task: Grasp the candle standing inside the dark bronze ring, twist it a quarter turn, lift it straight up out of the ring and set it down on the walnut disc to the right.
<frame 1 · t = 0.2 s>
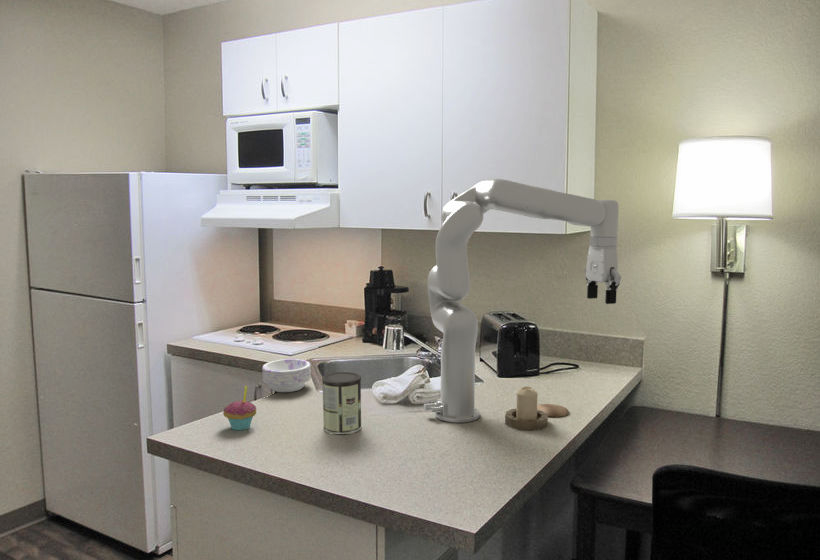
hand: (601, 300, 198), 31 cm above the worktop, tool pointing down, fingers open, 9 cm apart
candle: (526, 424, 184), resting in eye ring
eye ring: (526, 423, 184), on the worktop
cupcake: (240, 428, 181), on the worktop
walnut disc: (550, 411, 194), on the worktop
paper bowls: (287, 389, 216), on the worktop
coffee can: (342, 429, 180), on the worktop
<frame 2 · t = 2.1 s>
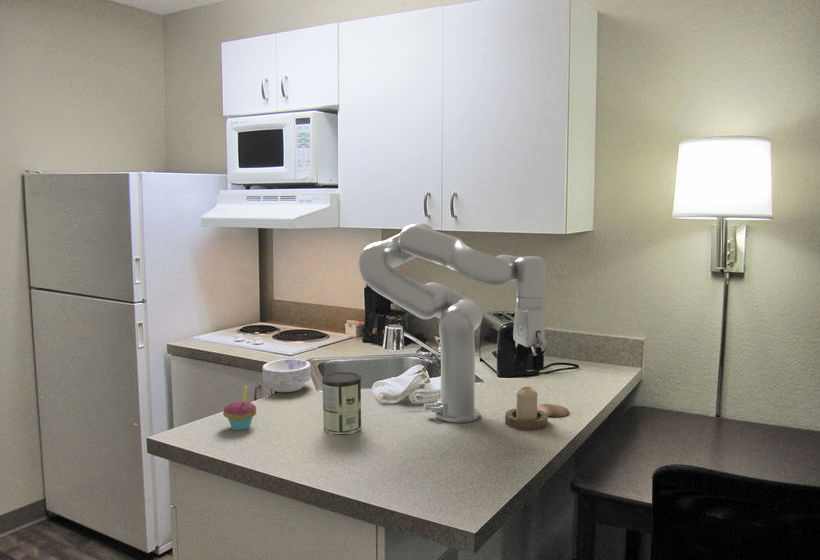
hand: (529, 365, 182), 16 cm above the worktop, tool pointing down, fingers open, 9 cm apart
nothing on the worktop moved.
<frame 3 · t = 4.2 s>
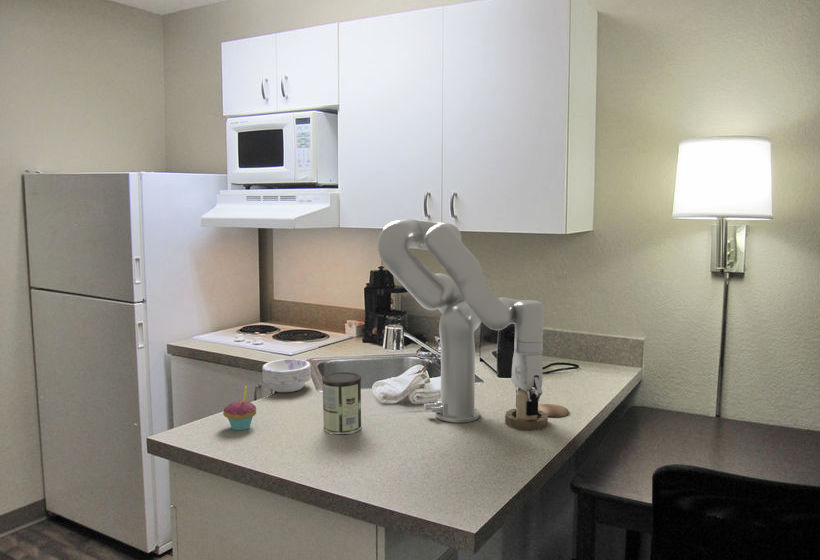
hand: (526, 410, 184), 4 cm above the worktop, tool pointing down, fingers closed on candle, 5 cm apart
candle: (526, 423, 184), resting in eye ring, touching gripper
everything else where it was.
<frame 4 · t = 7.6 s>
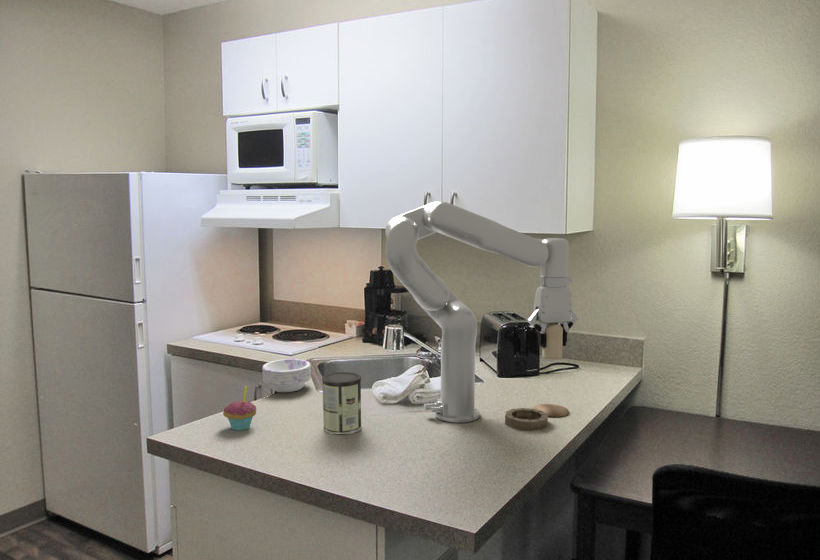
hand: (552, 345, 191), 20 cm above the worktop, tool pointing down, fingers closed on candle, 5 cm apart
candle: (552, 358, 192), point 16 cm above the worktop, touching gripper
everything else where it was.
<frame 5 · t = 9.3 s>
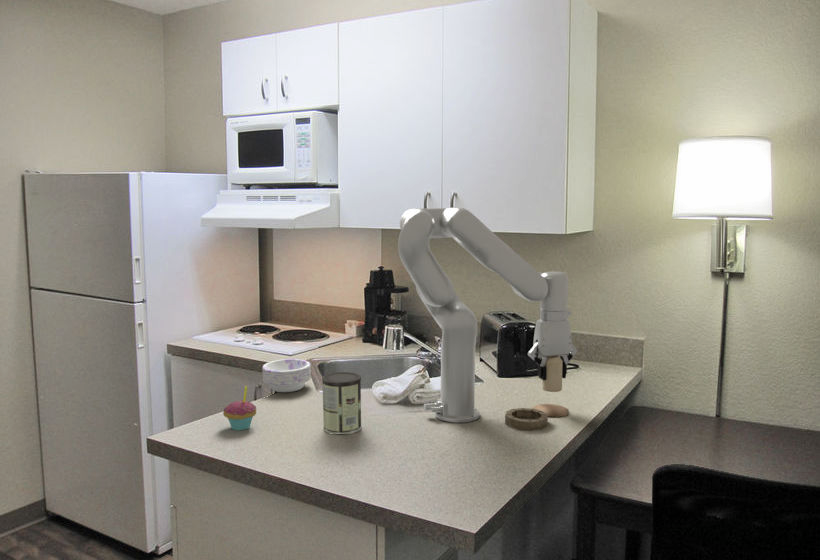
hand: (552, 377, 193), 10 cm above the worktop, tool pointing down, fingers closed on candle, 5 cm apart
candle: (552, 390, 193), point 6 cm above the worktop, touching gripper
everything else where it was.
when the fingers open (6 cm above the worktop, at t = 11.0 s): candle drops 1 cm, resting on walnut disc.
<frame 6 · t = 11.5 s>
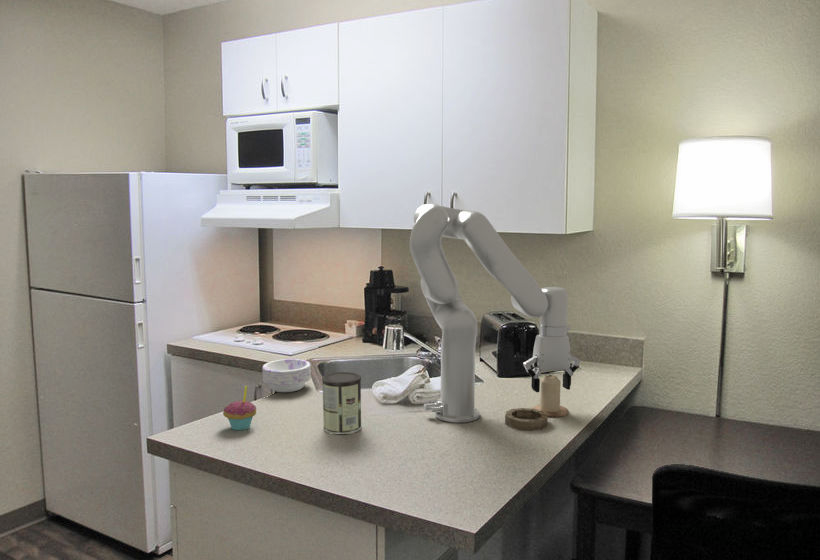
hand: (551, 389, 193), 6 cm above the worktop, tool pointing down, fingers open, 9 cm apart
candle: (549, 410, 194), resting on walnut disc
everything else where it was.
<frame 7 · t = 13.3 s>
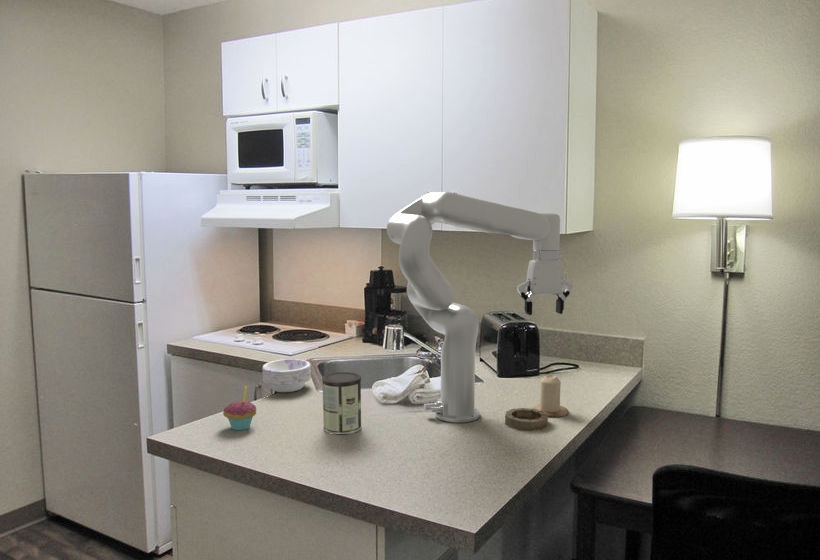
hand: (544, 313, 199), 27 cm above the worktop, tool pointing down, fingers open, 9 cm apart
nothing on the worktop moved.
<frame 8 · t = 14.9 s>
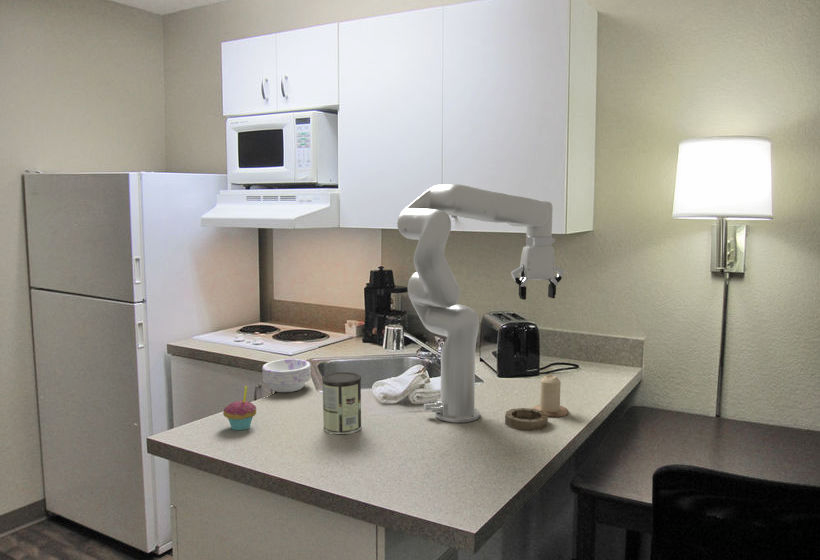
hand: (537, 298, 206), 30 cm above the worktop, tool pointing down, fingers open, 9 cm apart
nothing on the worktop moved.
at the end: candle 0.2 cm from the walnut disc (horizontally); candle tilted 0°; candle resting on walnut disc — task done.
